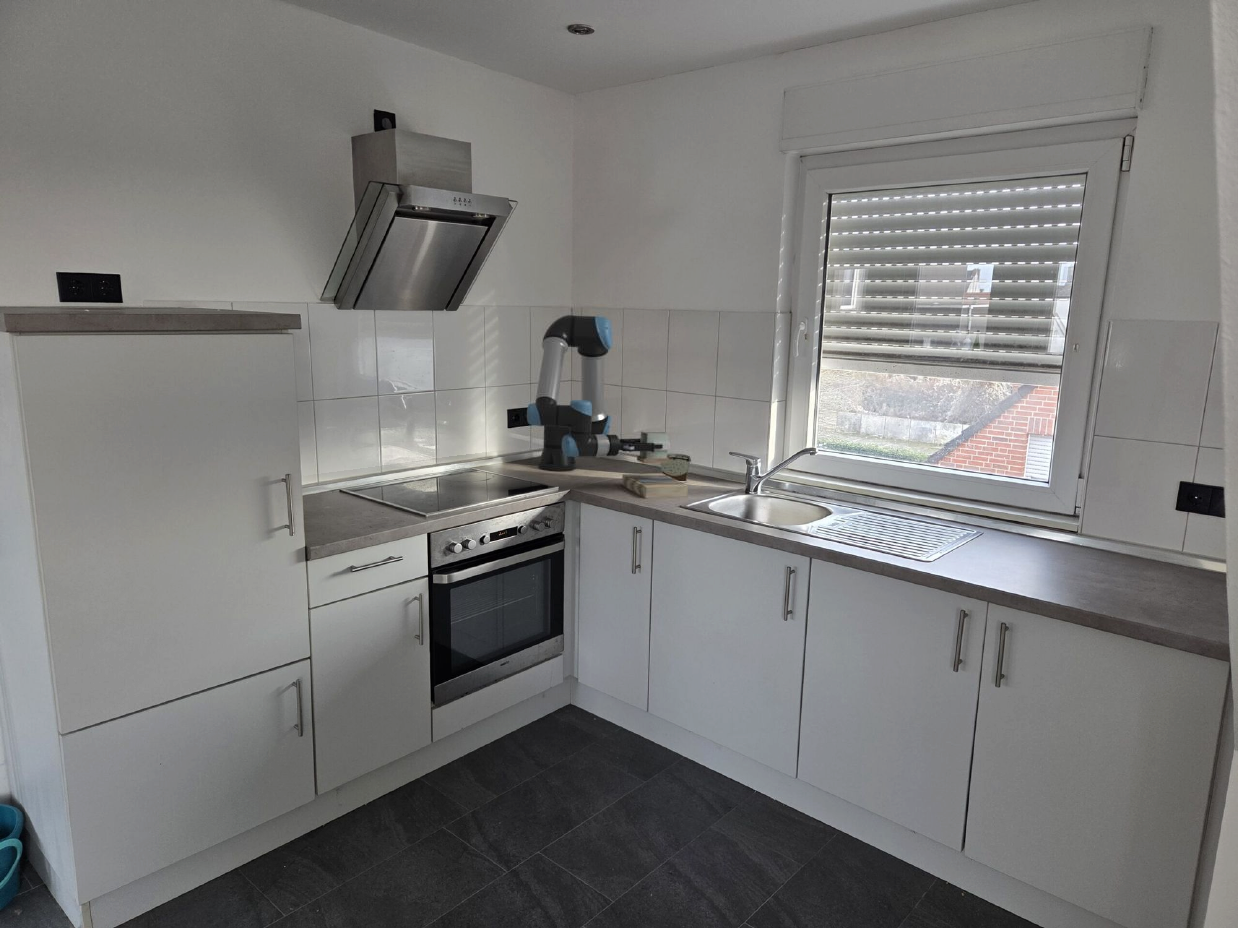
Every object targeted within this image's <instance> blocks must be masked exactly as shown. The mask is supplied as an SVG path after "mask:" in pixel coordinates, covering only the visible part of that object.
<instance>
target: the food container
mask: <svg viewBox="0 0 1238 928" xmlns="http://www.w3.org/2000/svg"><path fill="white" fill-rule="evenodd" d="M667 458H669V462H668V463H660V468H661V469H660V470H661V471H660V473H662V474H665V475H667V476H669V477H671V478H673V479H675V480H677V481H686V482H687V480H688V474H689V467H690V463H692V458H691V456H690V455H687V454H683V453H667Z"/></svg>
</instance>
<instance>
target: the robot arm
mask: <svg viewBox="0 0 1238 928" xmlns="http://www.w3.org/2000/svg"><path fill="white" fill-rule="evenodd" d="M541 347H542V349H543V355H542V358H541V359H542V361H541V365H540V372H539V379H538V383H537V390H536V396H535V402H534V403H529V404H528V405H527V409H526V410H527V411H526V421H527V423H528V424H529V425H530V426H535V427H536V426H537V427H543V449H542V450H541V451H542V452H541V455H540V457H539V460H538V469H541V470H545V471H551V472H552V471H553V472H563V471H564V472H567V471H573V470H576V468H577V462H576V458H583V457H596V458H597V459H598V458H600V457H606V456H607V457H616V456H618V455H619V452H620V451H621V452H629V453H632V452H640V451H652V452H654V450H667V451H671V442H670V441H668V442H653V443H640V440H641V437H638V438H619V436H618V435H617V434H609V433H610V427H611V421H612V416H611V415H609V414H608V410H607V409H606V408H605V356H606V355H608V353H609V350H611V349H612V348H613V329H612V322H611V321H610V319H609V318H607V317H604V316H598V315H596V316H592V315H591V316H590V315H572V314H568V315H563V316H561V317H559V318H558V319H555V320H554V321H553V322H552V323H551V325H550V326H549V327H548V328H547V329H546V331H545V332H544V335H543V338H542V344H541ZM569 348H577V349H576V350H577V354H578V355H579V356H580V357H581V399H573V400H571V401H570V402H569V403H570V404H558V401H559V393H560V388H561V381H562V373H563V366H564V359H565V354H567V352H568V350H569Z"/></svg>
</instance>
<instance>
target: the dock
mask: <svg viewBox="0 0 1238 928" xmlns="http://www.w3.org/2000/svg"><path fill="white" fill-rule="evenodd" d="M621 478H622V480H621V485H622V486H623V487H625V488H627V489H628V490H630V491H632V492H633V493H635V494H637V495H639V496H641V497H642V498H644V499H664V498H665V499H666V498H684V497H687V498H688V491H689V490H688V489H689V485H688V484H686V483H685V482H679V481H677V480H675V479H673V478H671V477H669V476H667V475H665V474H662V473H661V472H657V473H656V472H655V473H625V474H622V477H621Z"/></svg>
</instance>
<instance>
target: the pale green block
mask: <svg viewBox="0 0 1238 928" xmlns="http://www.w3.org/2000/svg"><path fill="white" fill-rule="evenodd" d="M640 439H641V440H640V443H653V442H669V433H668V432H665V431H662V430H647V431H646V430H642V431H640ZM667 454H668V450H654V452H652V451H639V455H637V456H636V461H638V462H640V463H642V464H659V463H660V464H661V463H668V462H669V458H667Z"/></svg>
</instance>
